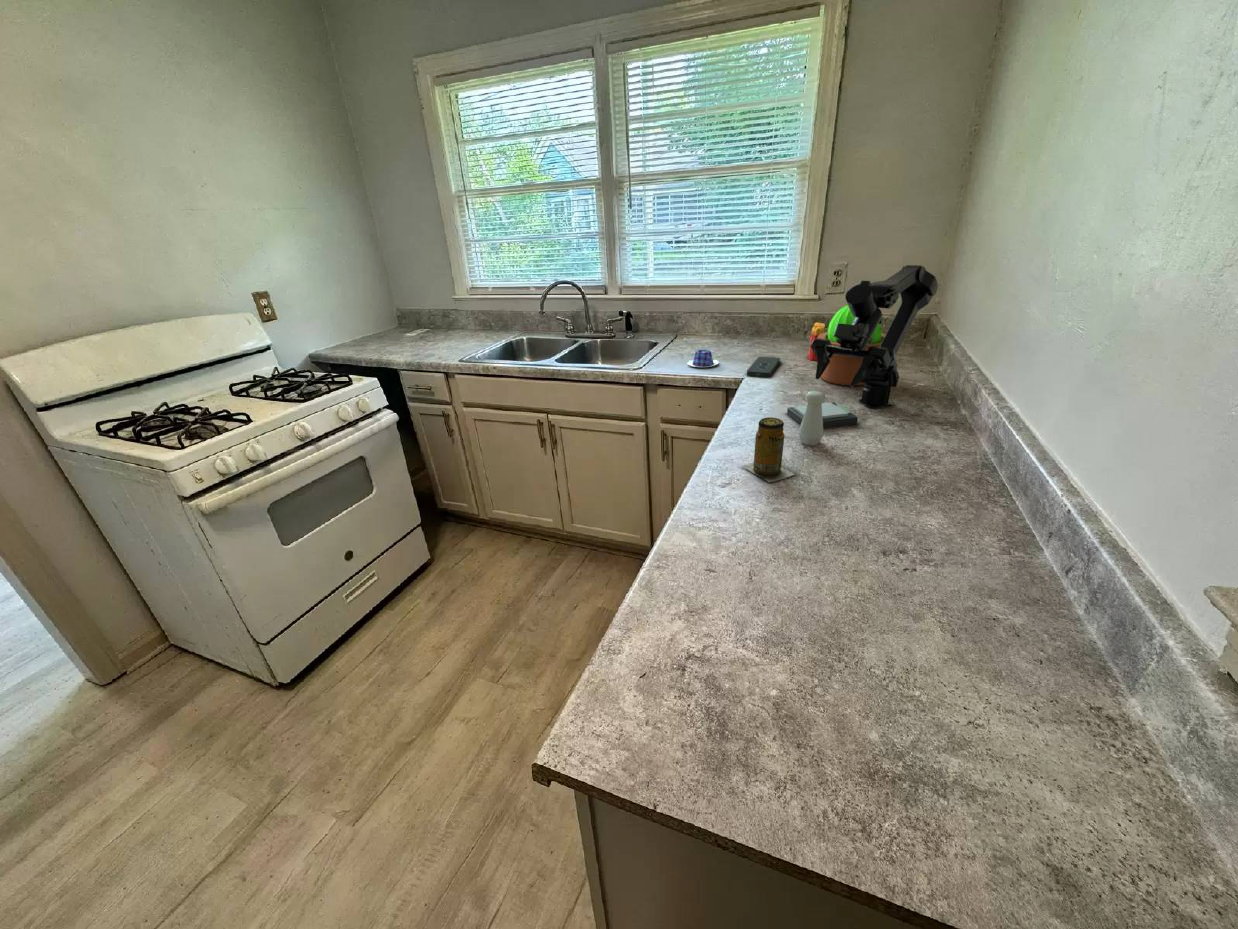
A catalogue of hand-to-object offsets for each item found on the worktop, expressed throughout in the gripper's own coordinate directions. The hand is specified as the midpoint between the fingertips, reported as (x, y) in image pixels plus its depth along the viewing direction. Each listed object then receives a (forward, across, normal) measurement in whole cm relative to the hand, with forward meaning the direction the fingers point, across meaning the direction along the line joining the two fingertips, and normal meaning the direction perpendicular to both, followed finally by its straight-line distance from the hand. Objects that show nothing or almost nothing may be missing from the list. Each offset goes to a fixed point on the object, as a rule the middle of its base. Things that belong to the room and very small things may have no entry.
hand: (833, 382), depth 123 cm
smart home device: (-16, -46, +36) cm, 60 cm away
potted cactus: (-21, -18, +41) cm, 50 cm away
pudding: (-10, -67, +29) cm, 73 cm away
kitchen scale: (+5, -6, +14) cm, 16 cm away
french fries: (-32, -39, +52) cm, 73 cm away
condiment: (+30, +2, -11) cm, 32 cm away
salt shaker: (+16, 0, +3) cm, 16 cm away
